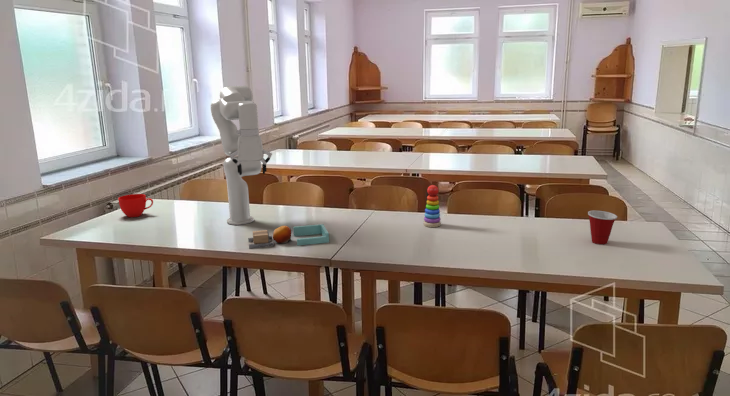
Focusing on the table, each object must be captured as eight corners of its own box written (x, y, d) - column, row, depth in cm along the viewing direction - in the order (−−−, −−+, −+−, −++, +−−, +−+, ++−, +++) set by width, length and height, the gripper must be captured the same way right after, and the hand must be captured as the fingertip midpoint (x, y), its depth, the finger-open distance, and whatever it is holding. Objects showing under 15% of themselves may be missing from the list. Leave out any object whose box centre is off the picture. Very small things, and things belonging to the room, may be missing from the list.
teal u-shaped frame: (293, 235, 236) (293, 226, 235) (323, 232, 238) (323, 224, 237) (297, 245, 222) (296, 236, 221) (329, 242, 225) (328, 233, 224)
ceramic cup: (149, 218, 270) (147, 199, 267) (116, 219, 270) (113, 200, 268) (159, 211, 282) (157, 193, 280) (127, 212, 283) (125, 194, 280)
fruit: (292, 241, 222) (281, 225, 221) (277, 250, 224) (267, 234, 224) (298, 236, 230) (288, 220, 229) (284, 244, 232) (274, 229, 231)
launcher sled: (253, 241, 228) (252, 231, 227) (269, 239, 230) (268, 229, 229) (253, 246, 221) (253, 236, 220) (270, 244, 223) (269, 234, 222)
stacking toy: (421, 226, 243) (421, 186, 239) (426, 222, 250) (426, 182, 246) (438, 228, 240) (438, 187, 236) (442, 223, 247) (443, 183, 243)
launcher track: (248, 241, 229) (248, 238, 229) (272, 239, 231) (272, 235, 231) (249, 248, 220) (248, 245, 219) (273, 246, 222) (273, 242, 222)
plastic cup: (612, 248, 208) (615, 218, 205) (583, 244, 214) (585, 215, 211) (616, 240, 217) (619, 211, 214) (588, 236, 223) (590, 208, 220)
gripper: (226, 134, 217) (230, 176, 221) (270, 133, 218) (272, 174, 222) (229, 132, 224) (232, 172, 228) (271, 131, 225) (273, 171, 230)
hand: (252, 173), depth 225 cm, fingers open, 9 cm apart
